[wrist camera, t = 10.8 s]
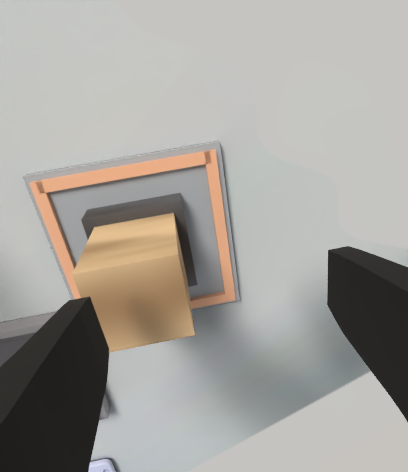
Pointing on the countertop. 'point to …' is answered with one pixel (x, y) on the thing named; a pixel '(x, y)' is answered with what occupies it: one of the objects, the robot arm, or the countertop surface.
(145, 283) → the stamp
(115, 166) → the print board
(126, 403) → the countertop surface
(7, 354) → the pad
